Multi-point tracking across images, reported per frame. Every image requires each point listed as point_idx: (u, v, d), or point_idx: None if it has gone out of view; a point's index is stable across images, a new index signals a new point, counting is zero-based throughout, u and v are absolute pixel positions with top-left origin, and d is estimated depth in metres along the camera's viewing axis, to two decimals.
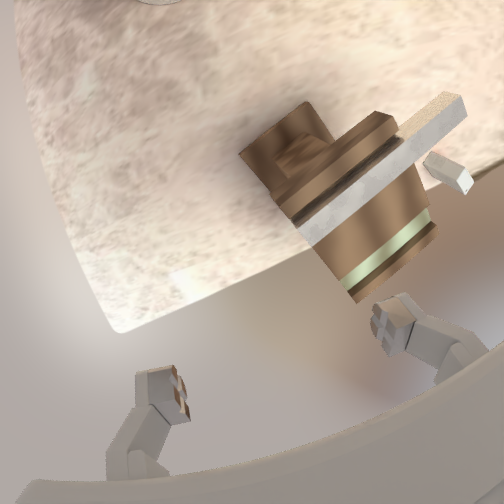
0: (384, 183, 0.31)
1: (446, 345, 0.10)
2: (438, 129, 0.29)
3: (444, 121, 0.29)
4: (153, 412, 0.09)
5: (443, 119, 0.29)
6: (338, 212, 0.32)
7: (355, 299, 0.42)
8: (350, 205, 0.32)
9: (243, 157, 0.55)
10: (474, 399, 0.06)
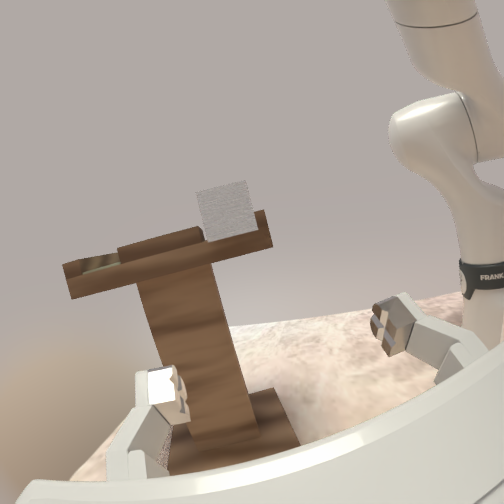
0: None
1: (446, 345, 0.10)
2: None
3: None
4: (153, 412, 0.09)
5: None
6: None
7: None
8: None
9: (270, 389, 0.46)
10: (474, 399, 0.06)
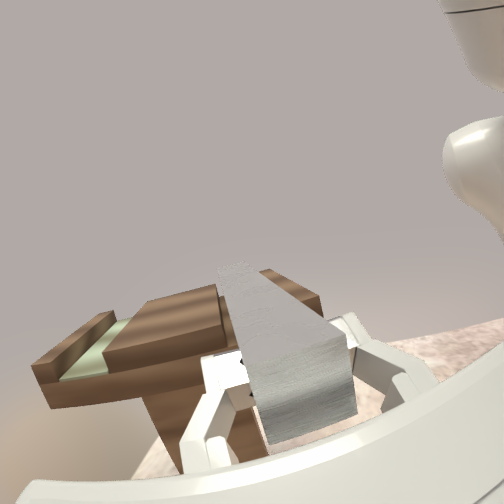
0: (226, 281, 0.23)
1: (392, 374, 0.09)
2: (258, 307, 0.14)
3: (270, 313, 0.13)
4: (225, 397, 0.09)
5: (279, 310, 0.13)
6: (231, 269, 0.30)
7: (105, 312, 0.32)
8: (230, 272, 0.28)
9: None
10: (474, 399, 0.06)
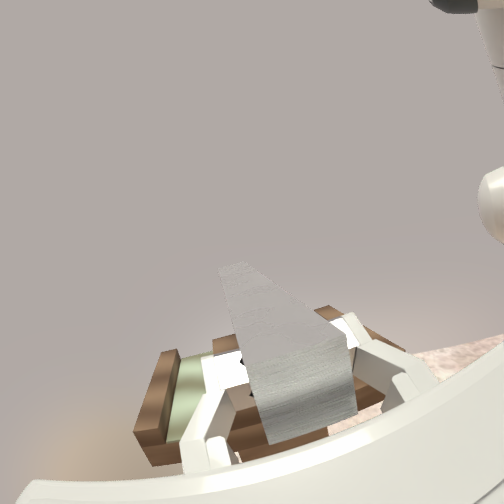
0: (227, 281, 0.24)
1: (392, 374, 0.09)
2: (259, 307, 0.14)
3: (270, 313, 0.13)
4: (225, 397, 0.09)
5: (279, 310, 0.13)
6: (232, 269, 0.30)
7: (169, 351, 0.34)
8: (231, 272, 0.28)
9: None
10: (474, 399, 0.06)
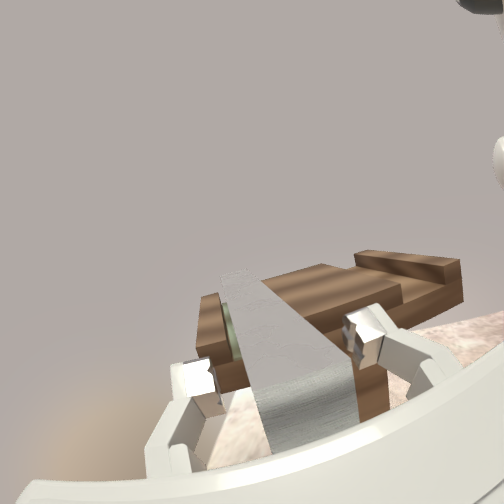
0: (230, 292, 0.24)
1: (418, 360, 0.09)
2: (263, 324, 0.14)
3: (275, 331, 0.13)
4: (192, 404, 0.09)
5: (284, 328, 0.13)
6: (235, 278, 0.30)
7: None
8: (233, 281, 0.28)
9: None
10: (474, 399, 0.06)
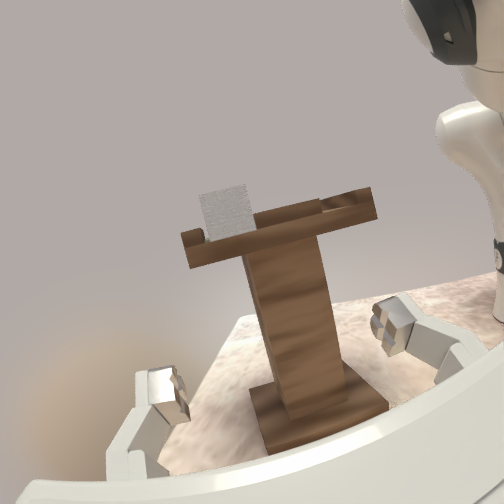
0: None
1: (446, 345, 0.10)
2: None
3: None
4: (153, 412, 0.09)
5: None
6: None
7: None
8: None
9: None
10: (474, 399, 0.06)
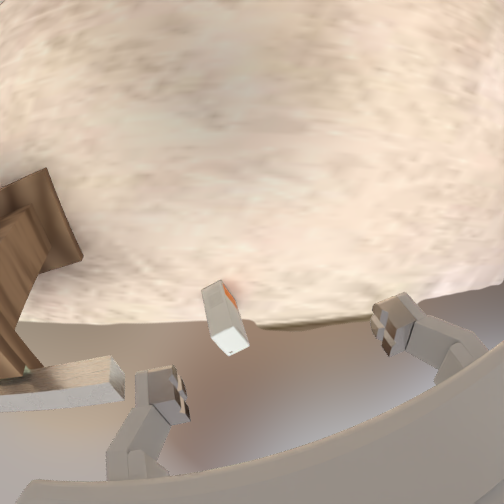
0: (4, 409, 0.22)
1: (446, 345, 0.10)
2: (66, 400, 0.23)
3: (75, 397, 0.23)
4: (153, 412, 0.09)
5: (73, 394, 0.22)
6: None
7: None
8: None
9: None
10: (474, 399, 0.06)
